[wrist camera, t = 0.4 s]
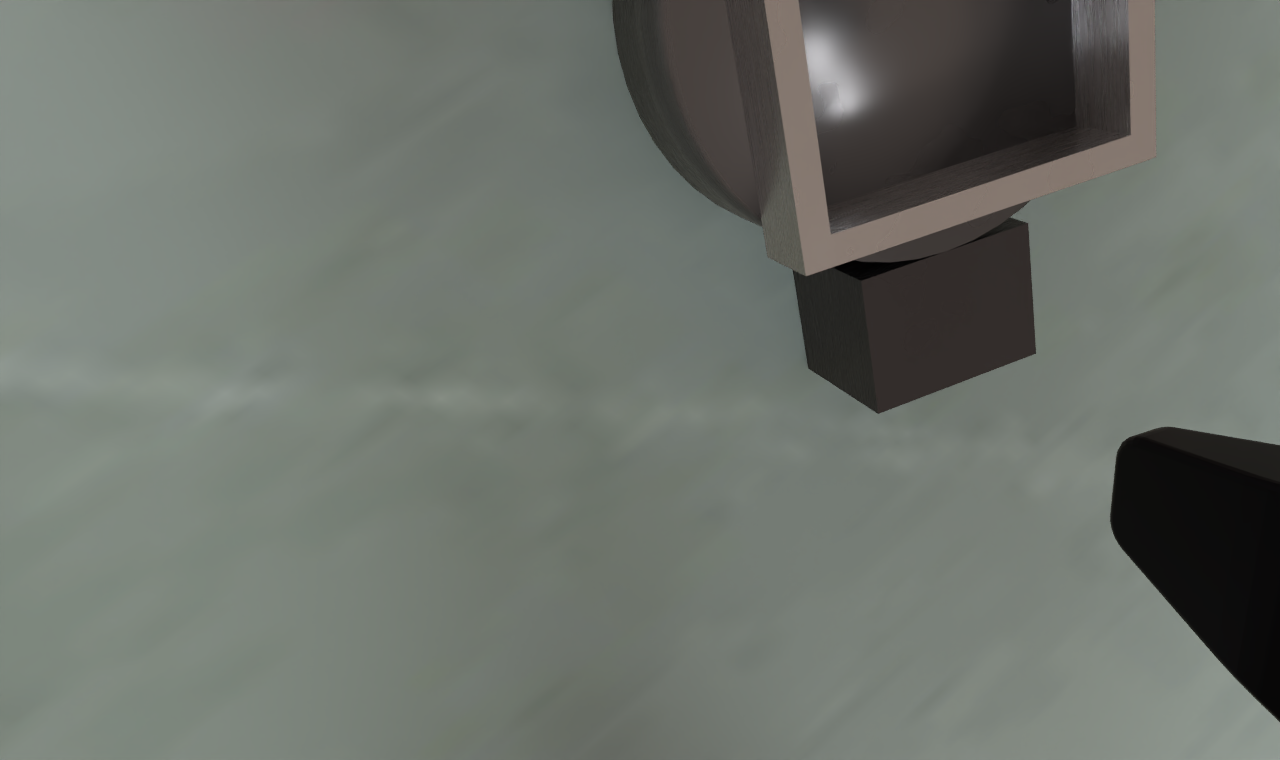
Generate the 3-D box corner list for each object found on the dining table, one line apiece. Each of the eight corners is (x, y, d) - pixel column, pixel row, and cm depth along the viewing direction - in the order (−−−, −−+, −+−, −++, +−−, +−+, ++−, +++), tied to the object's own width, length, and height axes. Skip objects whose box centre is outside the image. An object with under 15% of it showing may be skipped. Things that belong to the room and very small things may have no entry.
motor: (1054, 278, 27) (1198, 330, 23) (692, 410, 25) (785, 492, 21) (1024, -323, 22) (1204, -388, 18) (559, -230, 20) (649, -283, 16)
